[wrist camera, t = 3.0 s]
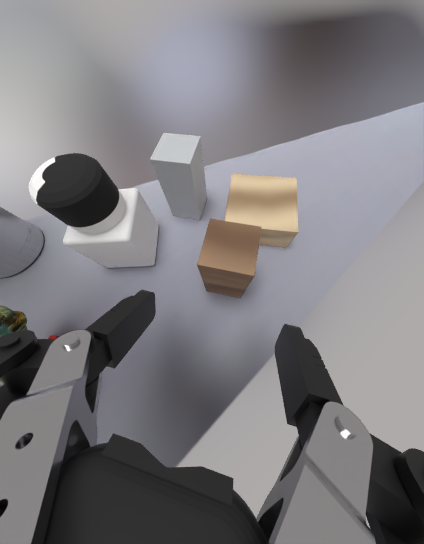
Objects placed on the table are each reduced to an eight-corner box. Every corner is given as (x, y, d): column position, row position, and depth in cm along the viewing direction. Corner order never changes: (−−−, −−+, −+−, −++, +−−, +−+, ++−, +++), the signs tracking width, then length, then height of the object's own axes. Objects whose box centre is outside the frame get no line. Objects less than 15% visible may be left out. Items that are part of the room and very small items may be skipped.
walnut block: (240, 298, 20) (254, 275, 12) (206, 290, 21) (197, 264, 12) (245, 266, 22) (261, 226, 13) (214, 260, 22) (210, 218, 14)
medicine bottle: (159, 224, 25) (109, 138, 14) (155, 266, 23) (90, 203, 11) (115, 227, 25) (31, 145, 14) (106, 268, 23) (-5, 209, 12)
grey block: (200, 220, 25) (189, 163, 16) (173, 215, 25) (150, 159, 17) (206, 198, 26) (200, 136, 18) (181, 194, 27) (163, 132, 18)
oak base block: (285, 248, 23) (298, 232, 19) (223, 241, 24) (224, 225, 20) (285, 200, 26) (296, 177, 22) (230, 195, 27) (232, 173, 23)
